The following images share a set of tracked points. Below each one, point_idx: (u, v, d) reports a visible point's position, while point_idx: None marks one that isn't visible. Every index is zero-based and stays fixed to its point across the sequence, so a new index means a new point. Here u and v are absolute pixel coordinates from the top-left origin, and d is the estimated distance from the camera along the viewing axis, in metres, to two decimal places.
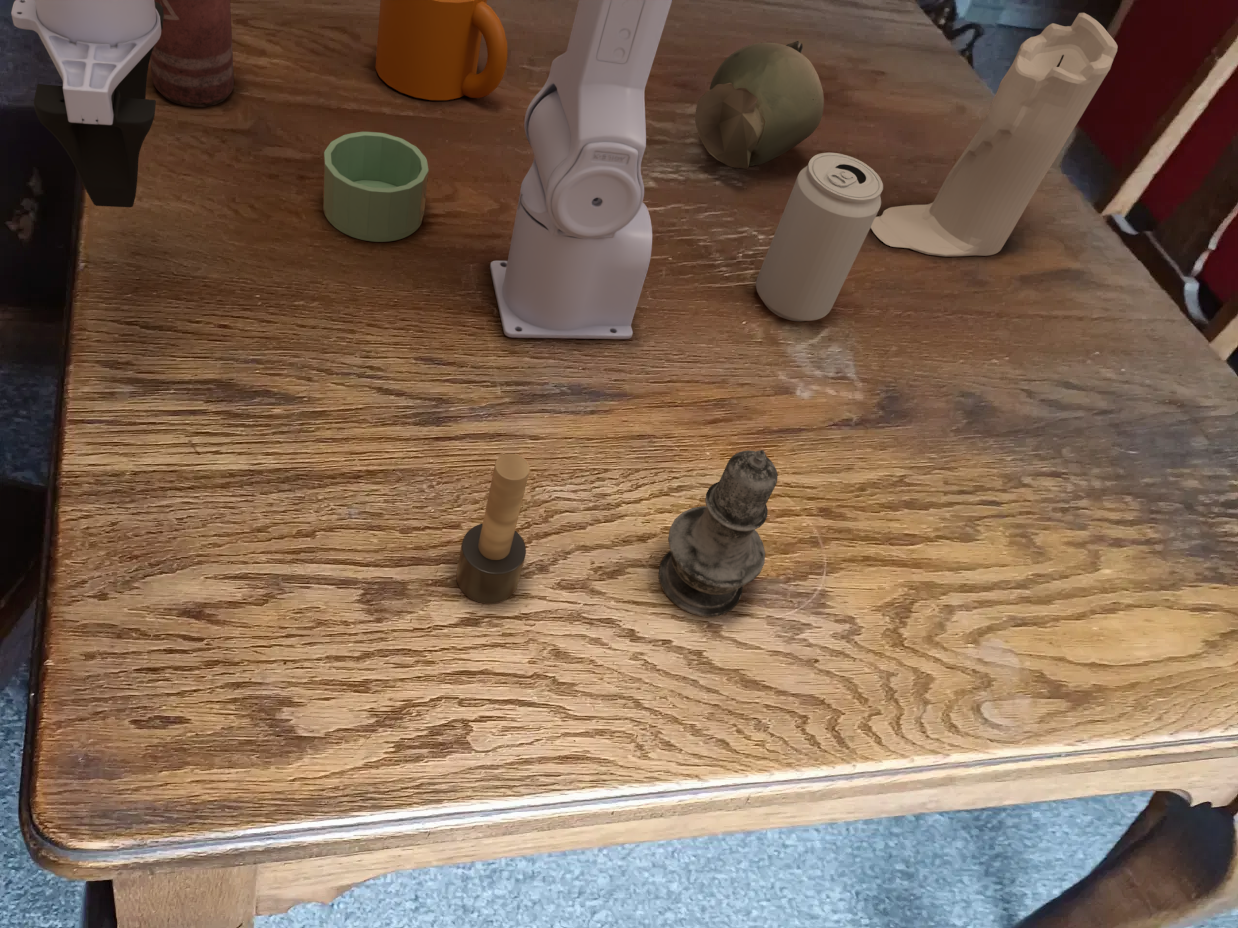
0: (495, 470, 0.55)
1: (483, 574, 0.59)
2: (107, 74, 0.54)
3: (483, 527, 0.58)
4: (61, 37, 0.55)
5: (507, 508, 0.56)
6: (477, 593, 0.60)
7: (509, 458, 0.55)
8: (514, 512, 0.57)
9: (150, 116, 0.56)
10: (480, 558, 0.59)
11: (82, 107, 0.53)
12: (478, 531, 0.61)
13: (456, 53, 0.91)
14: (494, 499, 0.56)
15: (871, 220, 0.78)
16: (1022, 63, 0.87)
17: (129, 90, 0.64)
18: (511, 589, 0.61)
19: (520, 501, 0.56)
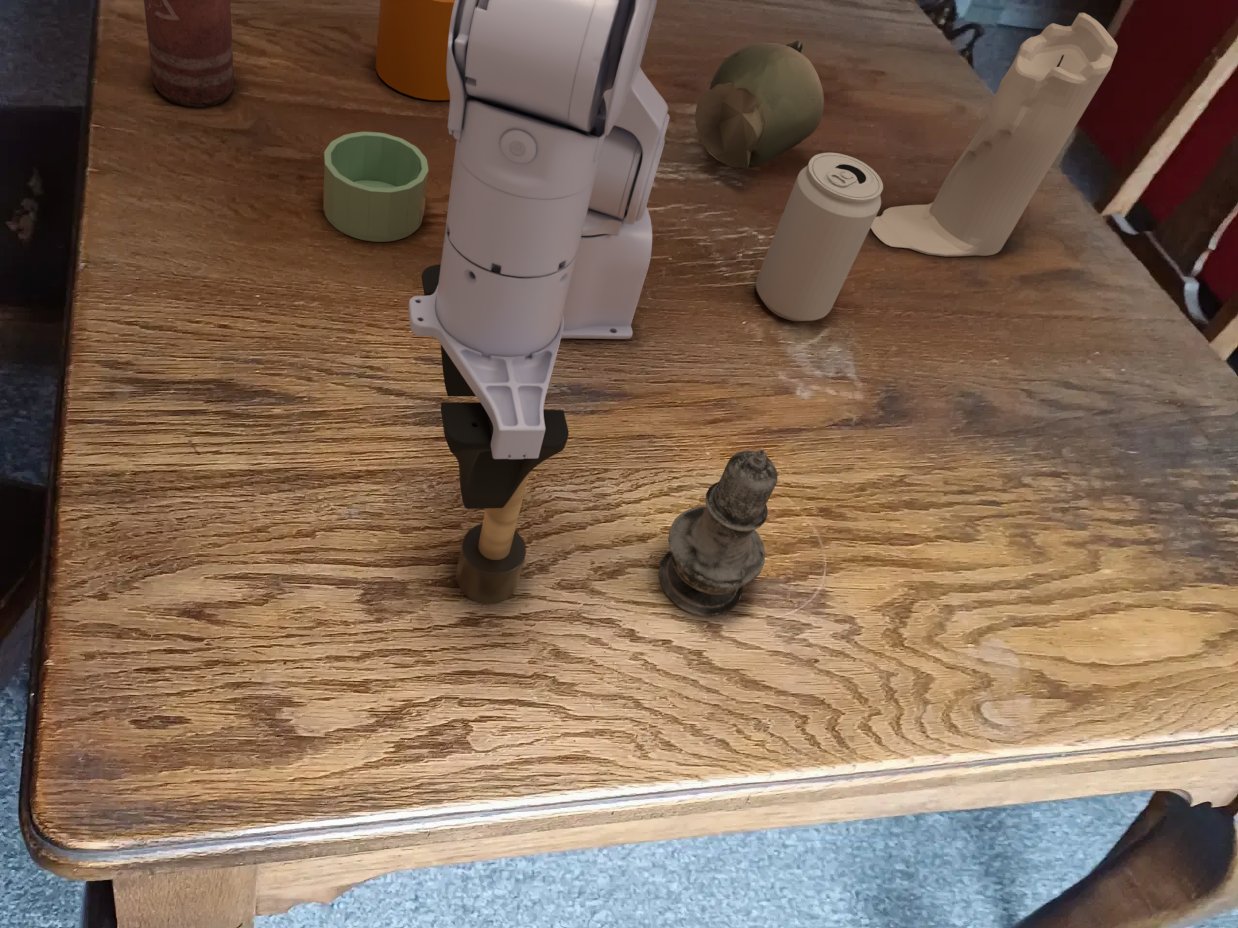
0: None
1: (483, 574, 0.59)
2: (530, 397, 0.47)
3: (483, 527, 0.58)
4: (473, 351, 0.47)
5: (507, 508, 0.56)
6: (477, 593, 0.60)
7: None
8: (514, 512, 0.57)
9: (566, 435, 0.48)
10: (480, 558, 0.59)
11: (513, 445, 0.45)
12: (478, 531, 0.61)
13: None
14: None
15: (871, 220, 0.78)
16: (1022, 63, 0.87)
17: None
18: (511, 589, 0.61)
19: (520, 501, 0.56)
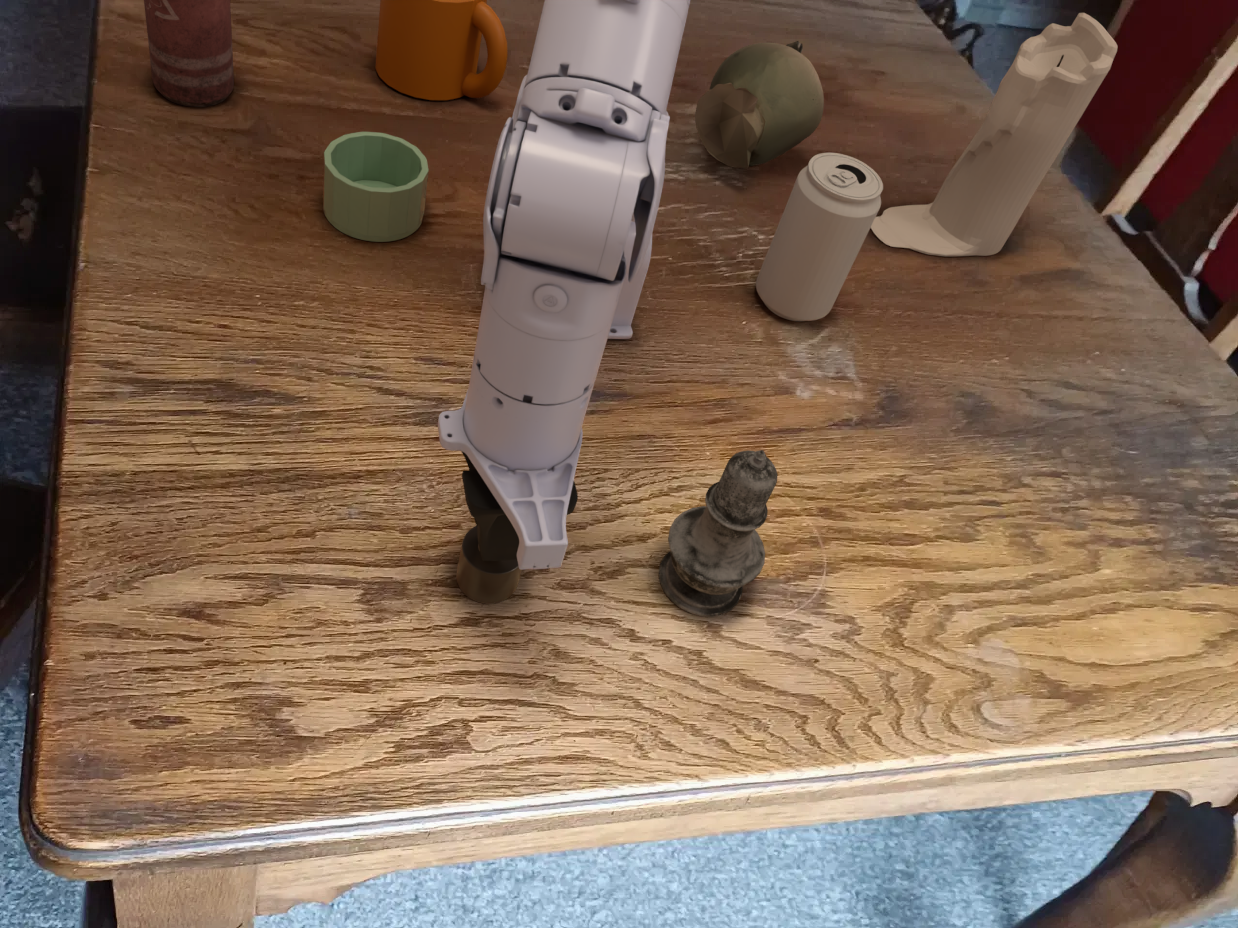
0: None
1: (483, 574, 0.59)
2: (552, 510, 0.50)
3: None
4: (499, 465, 0.51)
5: None
6: (477, 593, 0.60)
7: None
8: None
9: (575, 499, 0.53)
10: (480, 558, 0.59)
11: (538, 557, 0.49)
12: None
13: (456, 52, 0.91)
14: None
15: (871, 220, 0.78)
16: (1022, 63, 0.87)
17: None
18: (511, 589, 0.61)
19: None
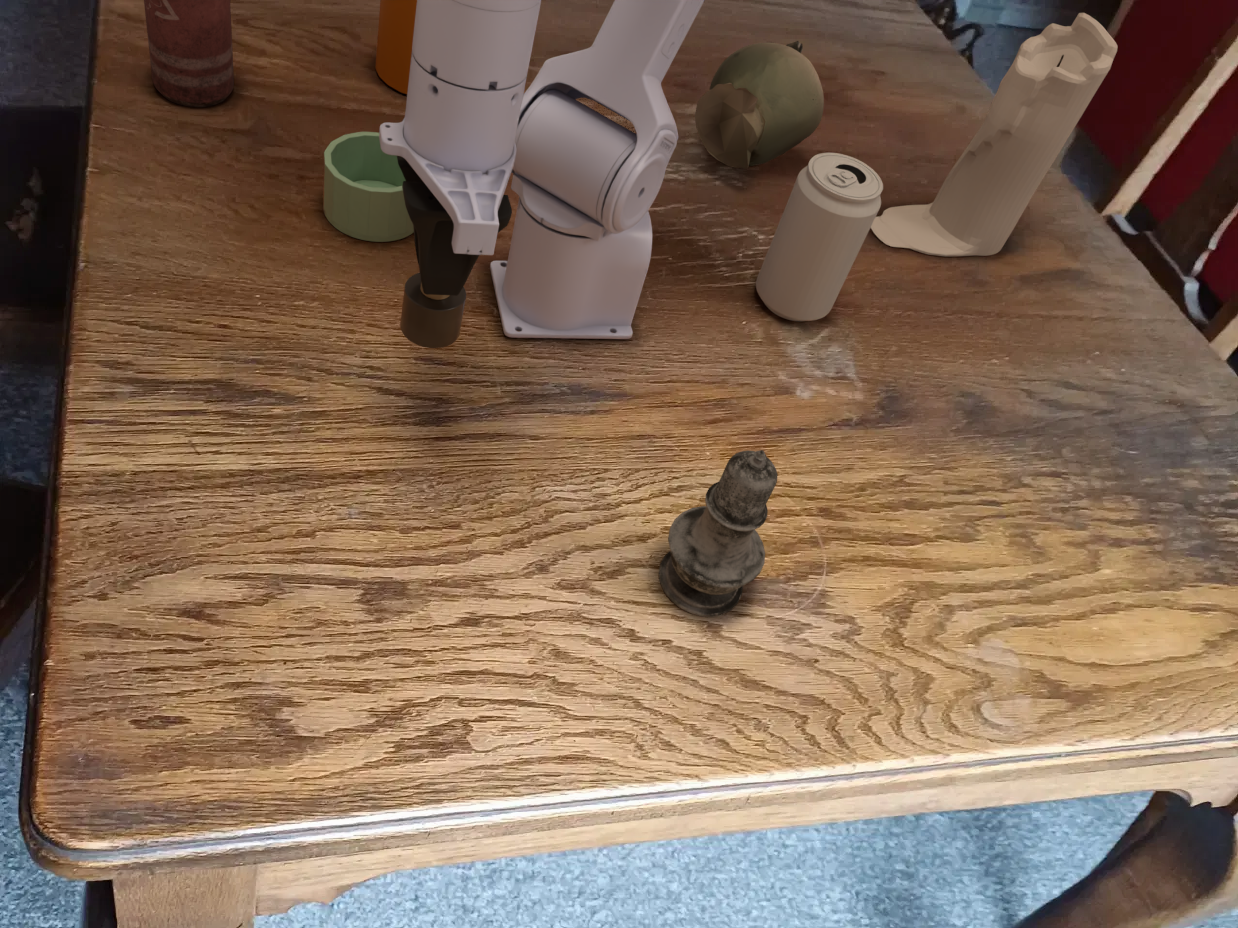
0: None
1: (425, 311, 0.62)
2: (486, 203, 0.54)
3: None
4: (436, 165, 0.54)
5: None
6: (419, 335, 0.64)
7: None
8: None
9: (509, 212, 0.57)
10: (421, 297, 0.63)
11: (471, 239, 0.52)
12: None
13: None
14: None
15: (871, 220, 0.78)
16: (1022, 63, 0.87)
17: None
18: (452, 334, 0.64)
19: None
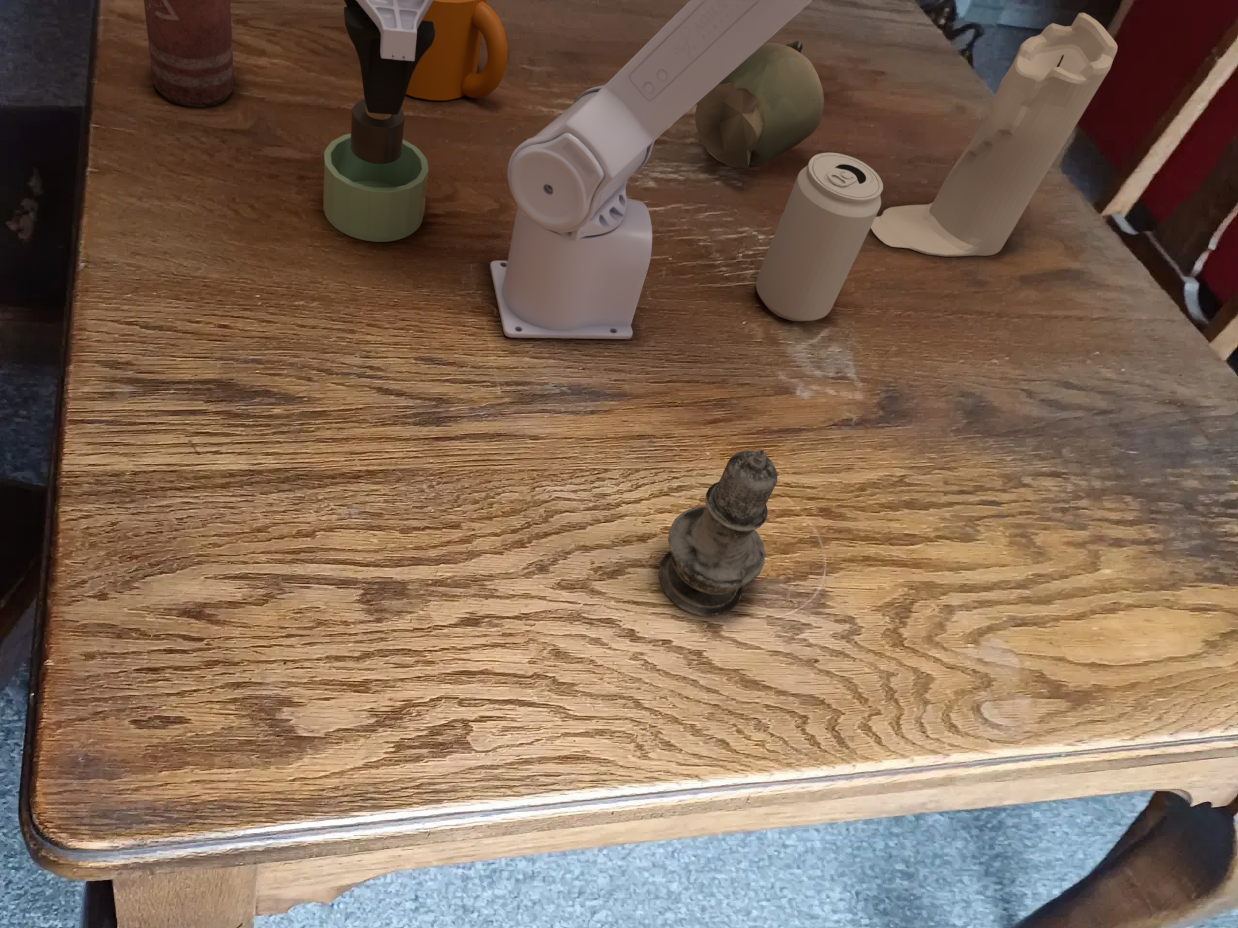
0: None
1: (368, 128, 0.74)
2: (408, 19, 0.65)
3: None
4: None
5: None
6: (365, 151, 0.76)
7: None
8: None
9: (433, 34, 0.69)
10: (366, 117, 0.75)
11: (394, 45, 0.64)
12: None
13: (456, 53, 0.91)
14: None
15: (871, 220, 0.78)
16: (1022, 63, 0.87)
17: None
18: (394, 152, 0.76)
19: None
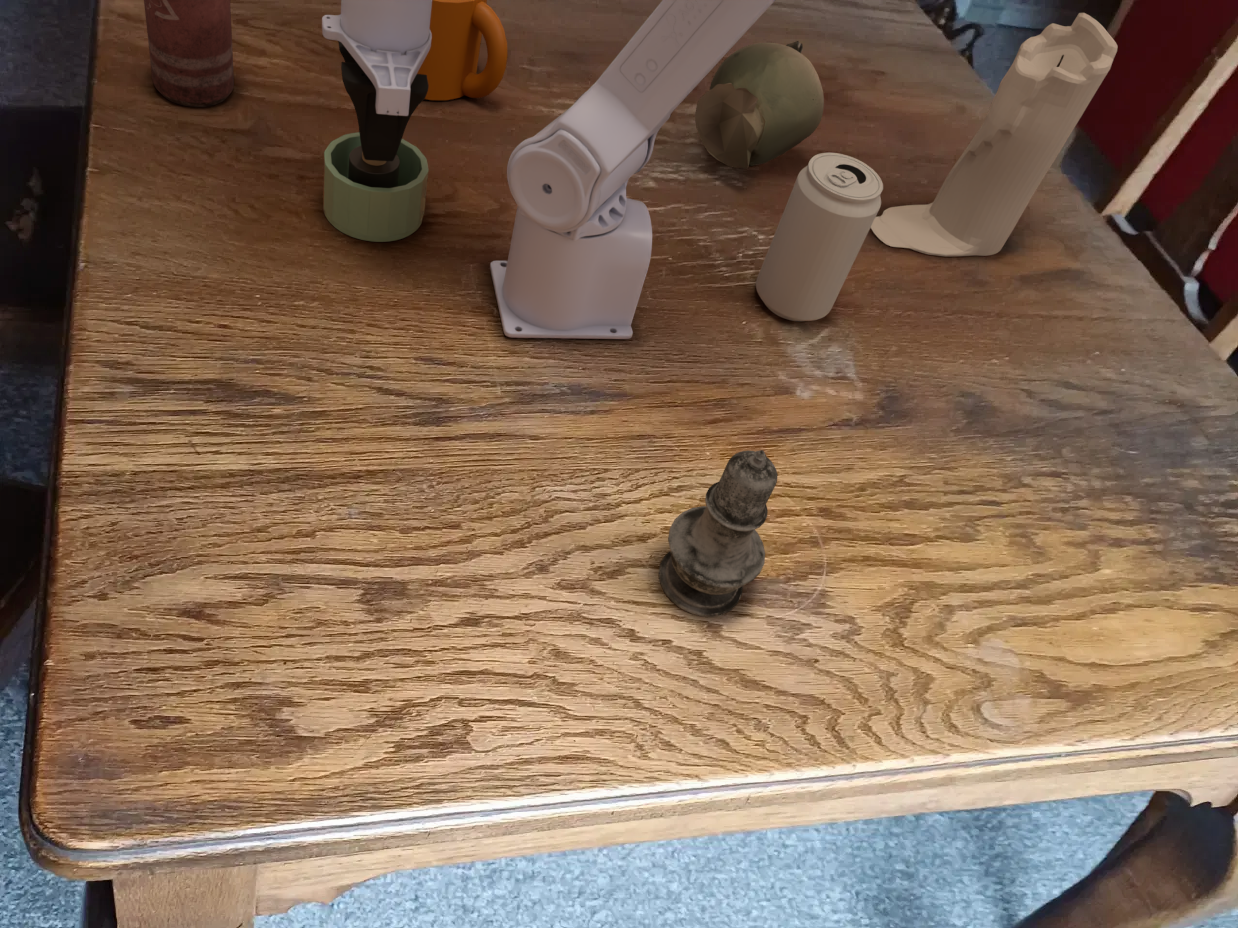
0: None
1: (365, 174, 0.77)
2: (403, 76, 0.69)
3: None
4: (364, 46, 0.69)
5: None
6: None
7: None
8: None
9: (426, 87, 0.72)
10: (362, 163, 0.78)
11: (389, 102, 0.67)
12: None
13: (456, 53, 0.91)
14: None
15: (871, 220, 0.78)
16: (1022, 63, 0.87)
17: None
18: None
19: None
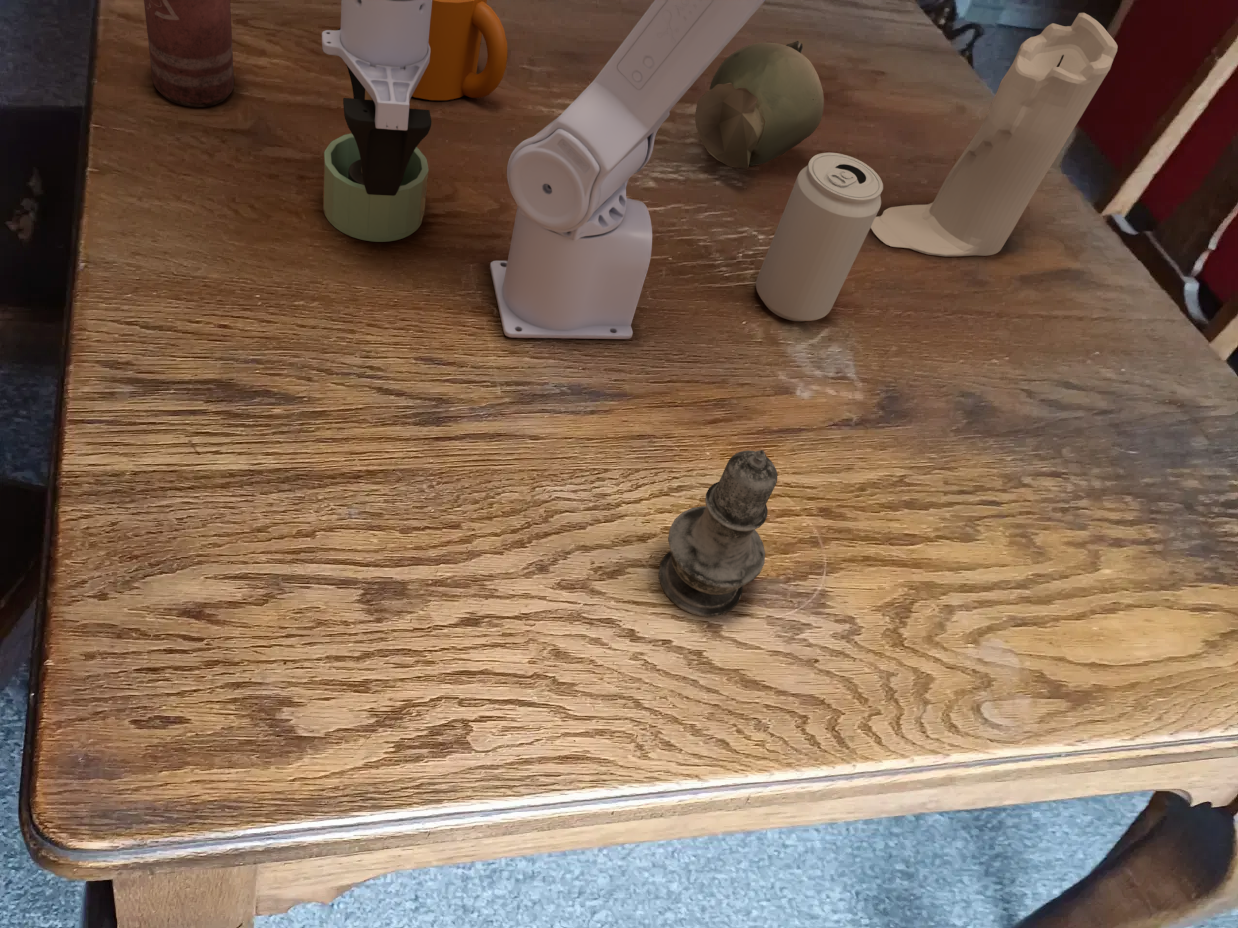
0: None
1: None
2: (402, 91, 0.69)
3: None
4: (364, 61, 0.70)
5: None
6: None
7: None
8: None
9: (429, 123, 0.71)
10: (361, 177, 0.79)
11: (388, 116, 0.68)
12: None
13: (456, 53, 0.91)
14: None
15: (871, 220, 0.78)
16: (1022, 63, 0.87)
17: None
18: None
19: None
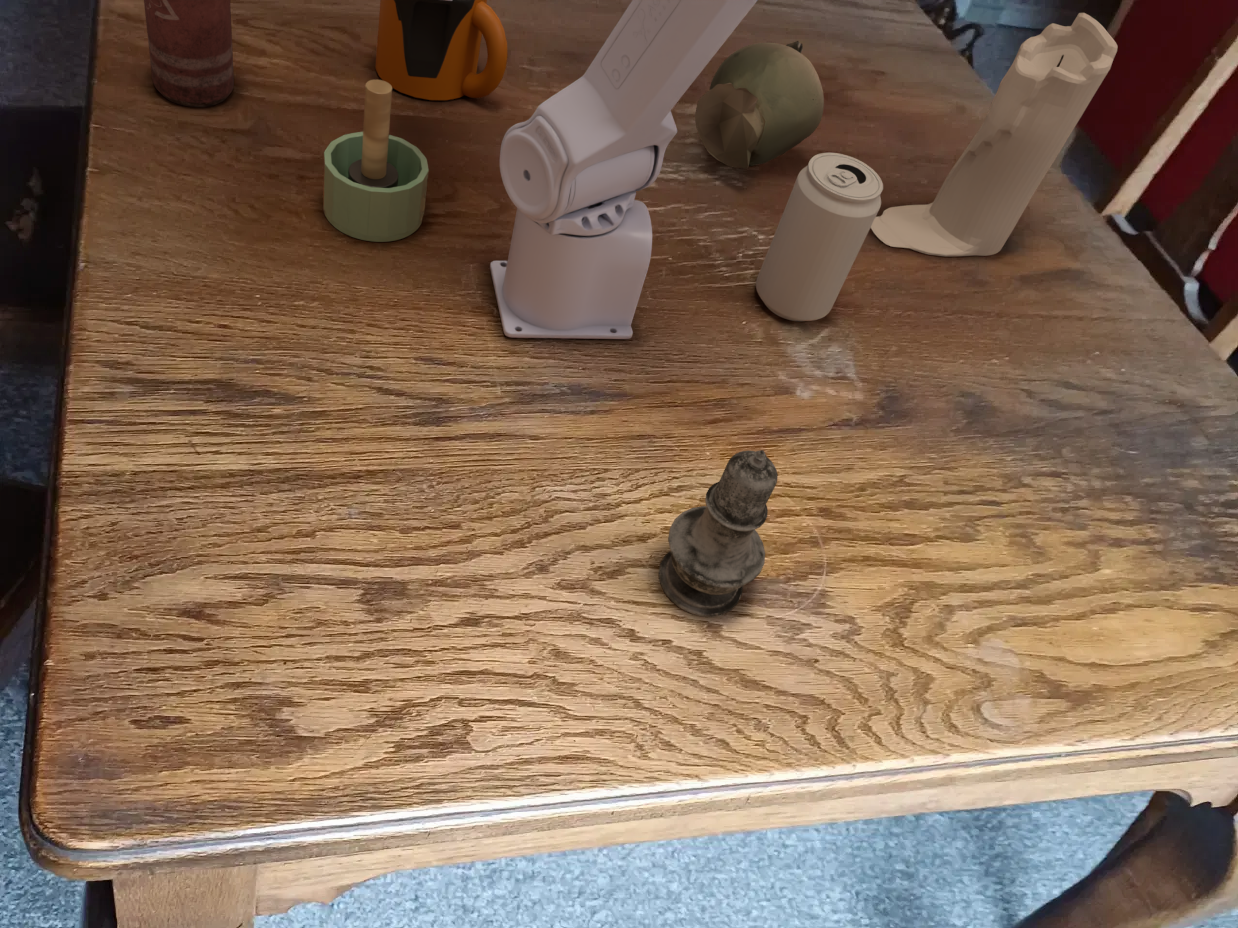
0: (365, 88, 0.74)
1: None
2: None
3: (362, 148, 0.77)
4: None
5: (377, 123, 0.75)
6: None
7: (377, 82, 0.74)
8: (383, 129, 0.76)
9: None
10: (361, 177, 0.79)
11: None
12: None
13: (456, 52, 0.91)
14: (367, 116, 0.75)
15: (871, 220, 0.78)
16: (1022, 63, 0.87)
17: None
18: None
19: (387, 119, 0.76)
